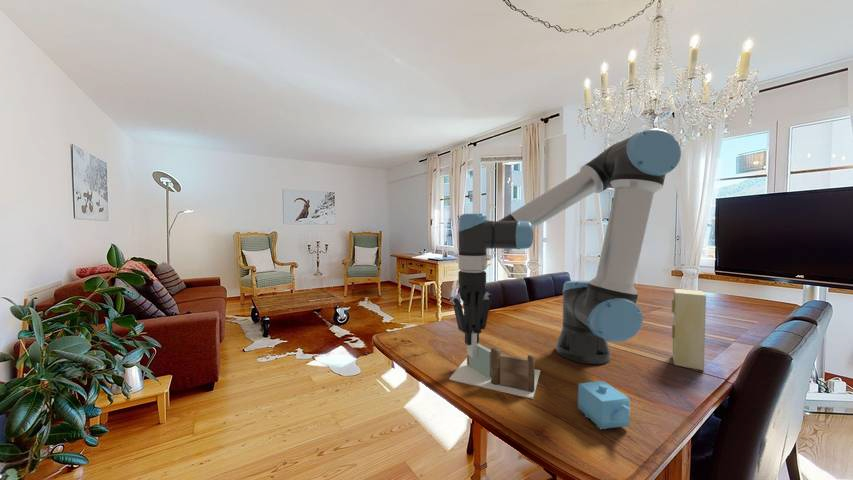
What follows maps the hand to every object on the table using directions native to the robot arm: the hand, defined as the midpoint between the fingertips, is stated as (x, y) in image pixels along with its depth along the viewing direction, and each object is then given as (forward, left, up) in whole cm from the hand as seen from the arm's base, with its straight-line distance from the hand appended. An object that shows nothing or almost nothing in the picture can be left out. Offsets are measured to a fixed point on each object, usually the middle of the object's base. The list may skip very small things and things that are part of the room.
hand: (471, 355), depth 86 cm
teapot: (-32, +10, -5) cm, 33 cm away
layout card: (-7, -1, -5) cm, 8 cm away
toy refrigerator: (-55, -32, -5) cm, 64 cm away
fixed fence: (-12, +4, -4) cm, 13 cm away
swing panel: (-2, 0, -4) cm, 4 cm away
